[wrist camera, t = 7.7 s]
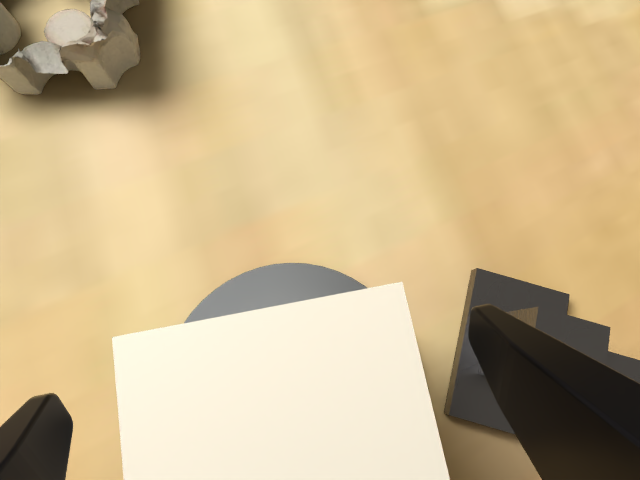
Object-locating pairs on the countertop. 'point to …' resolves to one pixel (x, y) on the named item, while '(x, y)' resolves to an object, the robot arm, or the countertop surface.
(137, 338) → the cream link
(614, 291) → the countertop surface
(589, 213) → the countertop surface
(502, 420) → the black stand
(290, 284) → the slate coaster
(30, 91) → the egg carton
